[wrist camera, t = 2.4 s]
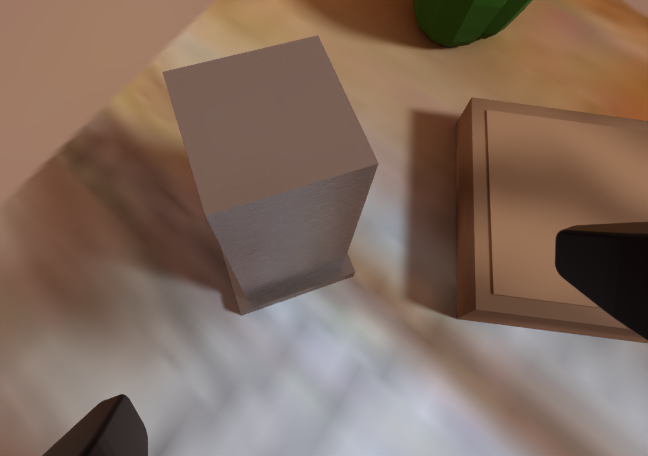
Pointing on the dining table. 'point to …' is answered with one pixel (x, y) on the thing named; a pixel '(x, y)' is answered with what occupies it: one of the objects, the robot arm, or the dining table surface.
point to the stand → (540, 209)
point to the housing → (275, 166)
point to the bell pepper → (465, 18)
